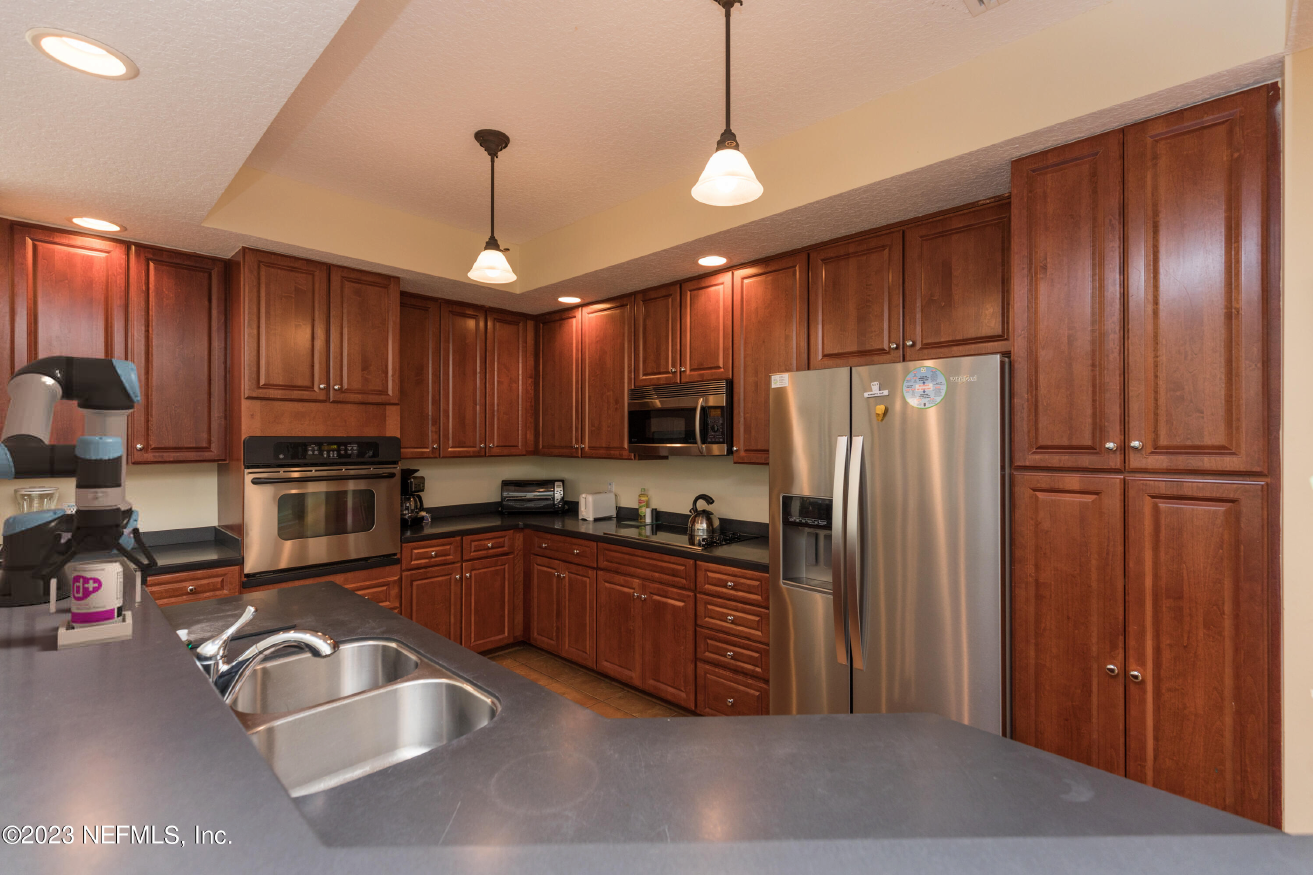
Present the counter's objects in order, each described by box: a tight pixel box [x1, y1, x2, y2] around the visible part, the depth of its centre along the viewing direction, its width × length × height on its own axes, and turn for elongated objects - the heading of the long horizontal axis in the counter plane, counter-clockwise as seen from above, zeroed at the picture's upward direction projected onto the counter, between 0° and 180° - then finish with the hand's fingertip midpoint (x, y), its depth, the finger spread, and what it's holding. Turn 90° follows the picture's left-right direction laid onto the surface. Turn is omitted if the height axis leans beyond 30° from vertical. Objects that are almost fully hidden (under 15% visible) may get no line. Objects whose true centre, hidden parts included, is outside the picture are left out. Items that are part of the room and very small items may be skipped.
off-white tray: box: [57, 610, 133, 651], centre depth 134 cm, size 12×12×4 cm
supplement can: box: [70, 559, 124, 630], centre depth 134 cm, size 8×8×15 cm
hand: (96, 605), depth 134 cm, fingers open, 13 cm apart
